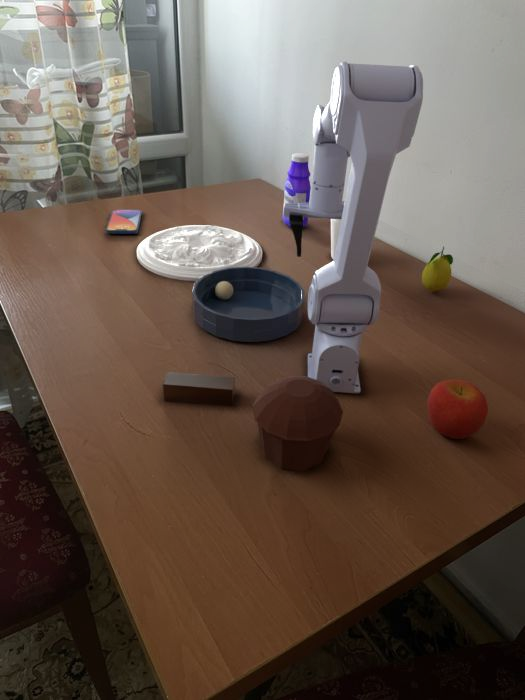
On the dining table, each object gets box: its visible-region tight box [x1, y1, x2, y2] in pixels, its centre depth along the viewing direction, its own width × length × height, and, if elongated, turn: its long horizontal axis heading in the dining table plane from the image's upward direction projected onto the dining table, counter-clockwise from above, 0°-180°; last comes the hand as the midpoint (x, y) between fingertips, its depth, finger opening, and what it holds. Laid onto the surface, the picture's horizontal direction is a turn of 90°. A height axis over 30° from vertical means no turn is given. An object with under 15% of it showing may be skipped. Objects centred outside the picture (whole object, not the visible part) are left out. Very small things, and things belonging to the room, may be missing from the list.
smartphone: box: [105, 209, 143, 235], centre depth 135 cm, size 7×15×1 cm, turn 6°
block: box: [162, 371, 236, 407], centre depth 80 cm, size 3×10×3 cm, turn 86°
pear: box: [421, 246, 454, 293], centre depth 110 cm, size 7×6×10 cm
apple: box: [427, 379, 489, 440], centre depth 75 cm, size 8×8×8 cm
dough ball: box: [215, 281, 233, 300], centre depth 104 cm, size 4×4×4 cm
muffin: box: [251, 375, 344, 472], centre depth 70 cm, size 12×11×10 cm
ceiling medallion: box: [136, 224, 263, 282], centre depth 122 cm, size 28×28×3 cm
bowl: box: [191, 266, 306, 343], centre depth 100 cm, size 20×20×5 cm
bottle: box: [282, 152, 311, 228], centre depth 136 cm, size 7×6×17 cm
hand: (319, 255), depth 101 cm, fingers open, 7 cm apart
